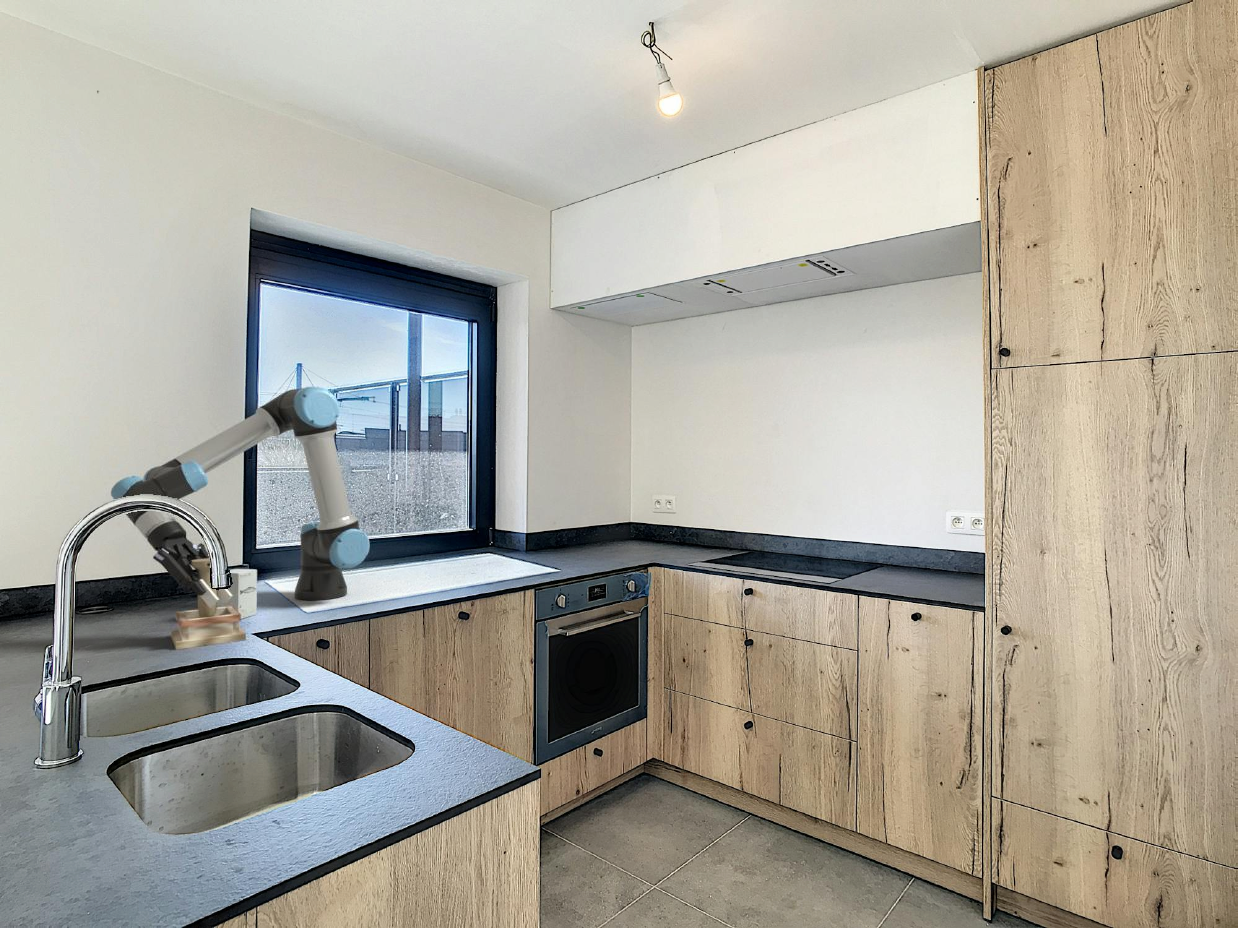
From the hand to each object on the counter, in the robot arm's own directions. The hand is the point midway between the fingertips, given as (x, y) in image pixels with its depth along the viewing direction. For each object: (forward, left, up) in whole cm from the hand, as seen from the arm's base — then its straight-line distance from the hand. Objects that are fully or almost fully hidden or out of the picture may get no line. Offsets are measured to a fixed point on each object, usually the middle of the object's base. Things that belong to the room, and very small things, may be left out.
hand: (221, 601), depth 165 cm
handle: (+3, -3, -5) cm, 7 cm away
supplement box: (-7, -24, -9) cm, 26 cm away
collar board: (+2, -3, -9) cm, 10 cm away
